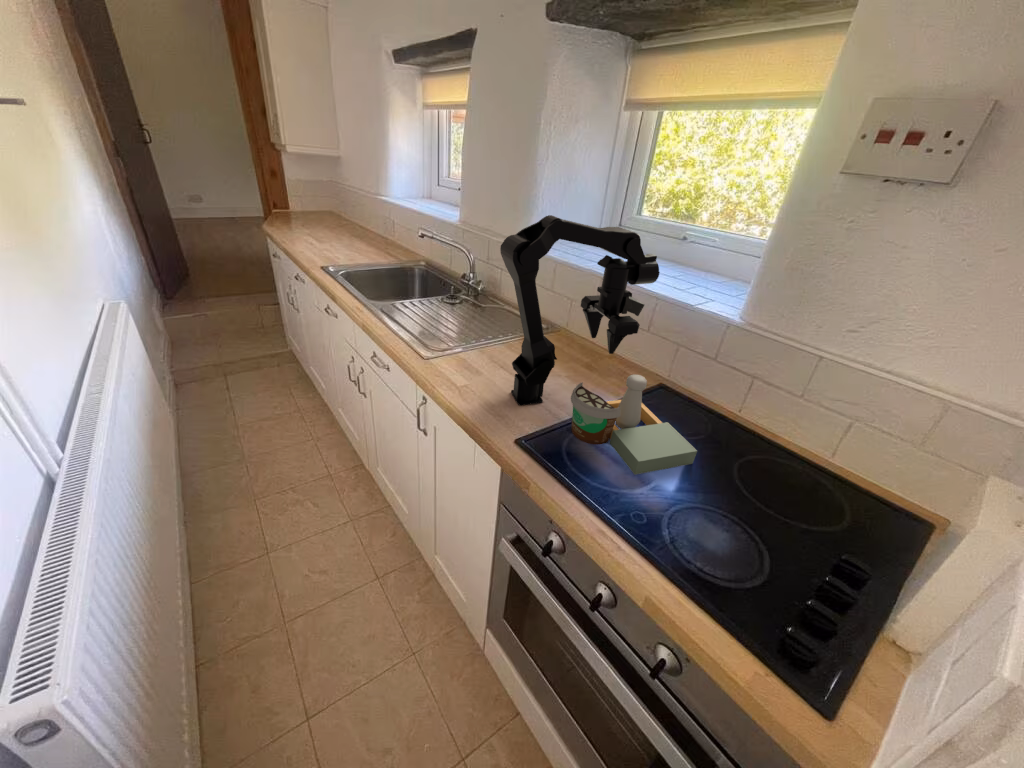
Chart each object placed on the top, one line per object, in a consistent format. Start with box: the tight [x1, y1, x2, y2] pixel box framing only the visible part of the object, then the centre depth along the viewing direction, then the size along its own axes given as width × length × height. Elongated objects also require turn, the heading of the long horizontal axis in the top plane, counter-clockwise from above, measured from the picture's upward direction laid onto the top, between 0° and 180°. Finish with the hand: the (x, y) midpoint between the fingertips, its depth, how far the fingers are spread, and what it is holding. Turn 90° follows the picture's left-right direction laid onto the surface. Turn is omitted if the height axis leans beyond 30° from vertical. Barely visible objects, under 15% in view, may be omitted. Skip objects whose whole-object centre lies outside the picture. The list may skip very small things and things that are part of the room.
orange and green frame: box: [606, 399, 698, 476], centre depth 91 cm, size 14×21×4 cm, turn 18°
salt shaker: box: [615, 374, 648, 430], centre depth 92 cm, size 6×6×13 cm
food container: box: [570, 381, 621, 446], centre depth 88 cm, size 12×6×10 cm, turn 35°
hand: (602, 345), depth 104 cm, fingers open, 9 cm apart
